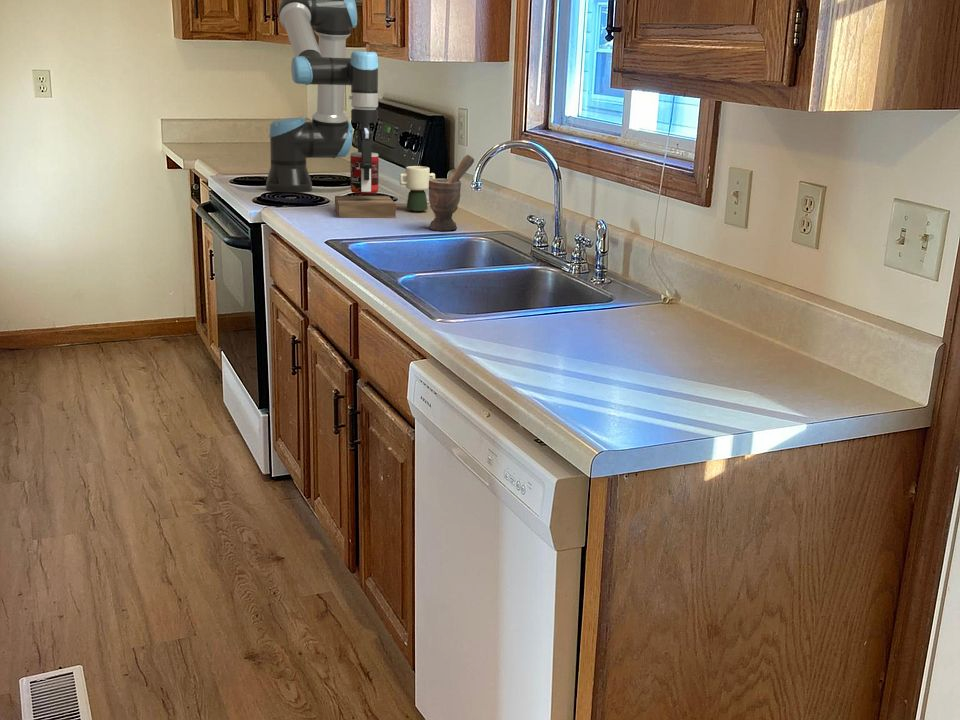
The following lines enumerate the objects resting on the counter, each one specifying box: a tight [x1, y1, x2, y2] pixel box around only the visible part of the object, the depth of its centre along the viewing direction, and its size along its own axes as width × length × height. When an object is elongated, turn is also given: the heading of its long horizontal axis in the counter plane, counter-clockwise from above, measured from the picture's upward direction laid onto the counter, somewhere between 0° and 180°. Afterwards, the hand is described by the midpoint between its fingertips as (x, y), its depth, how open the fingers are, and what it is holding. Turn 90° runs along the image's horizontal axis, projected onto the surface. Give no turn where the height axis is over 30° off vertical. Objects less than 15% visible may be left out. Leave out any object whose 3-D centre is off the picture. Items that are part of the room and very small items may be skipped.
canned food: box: [349, 151, 380, 195], centre depth 289 cm, size 8×8×11 cm
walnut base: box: [334, 195, 397, 219], centre depth 292 cm, size 16×16×4 cm
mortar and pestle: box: [428, 154, 475, 232], centre depth 268 cm, size 12×9×20 cm
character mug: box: [399, 165, 436, 212], centre depth 297 cm, size 11×7×13 cm, turn 110°
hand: (364, 189), depth 290 cm, fingers closed on canned food, 8 cm apart
